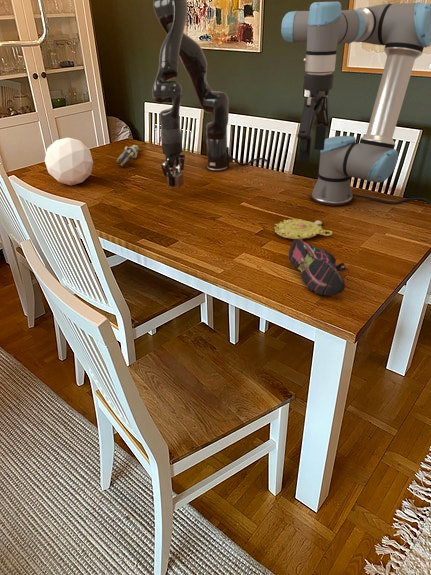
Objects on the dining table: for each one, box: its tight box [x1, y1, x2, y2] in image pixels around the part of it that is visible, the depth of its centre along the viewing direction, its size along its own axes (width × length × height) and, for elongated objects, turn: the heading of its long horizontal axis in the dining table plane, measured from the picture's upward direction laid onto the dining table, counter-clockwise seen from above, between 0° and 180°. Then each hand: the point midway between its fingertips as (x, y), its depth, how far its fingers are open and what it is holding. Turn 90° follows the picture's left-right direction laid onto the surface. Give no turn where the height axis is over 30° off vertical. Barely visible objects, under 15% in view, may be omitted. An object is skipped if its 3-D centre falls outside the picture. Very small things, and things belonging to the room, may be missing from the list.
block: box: [166, 171, 185, 189], centre depth 173 cm, size 4×5×4 cm
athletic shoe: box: [288, 239, 349, 296], centre depth 119 cm, size 11×22×12 cm
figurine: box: [115, 144, 140, 167], centre depth 221 cm, size 7×8×30 cm
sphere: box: [44, 137, 94, 187], centre depth 189 cm, size 19×20×20 cm
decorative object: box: [273, 218, 333, 241], centre depth 145 cm, size 21×2×20 cm
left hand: (175, 184), depth 174 cm, fingers closed on block, 4 cm apart
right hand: (311, 155), depth 125 cm, fingers open, 13 cm apart
